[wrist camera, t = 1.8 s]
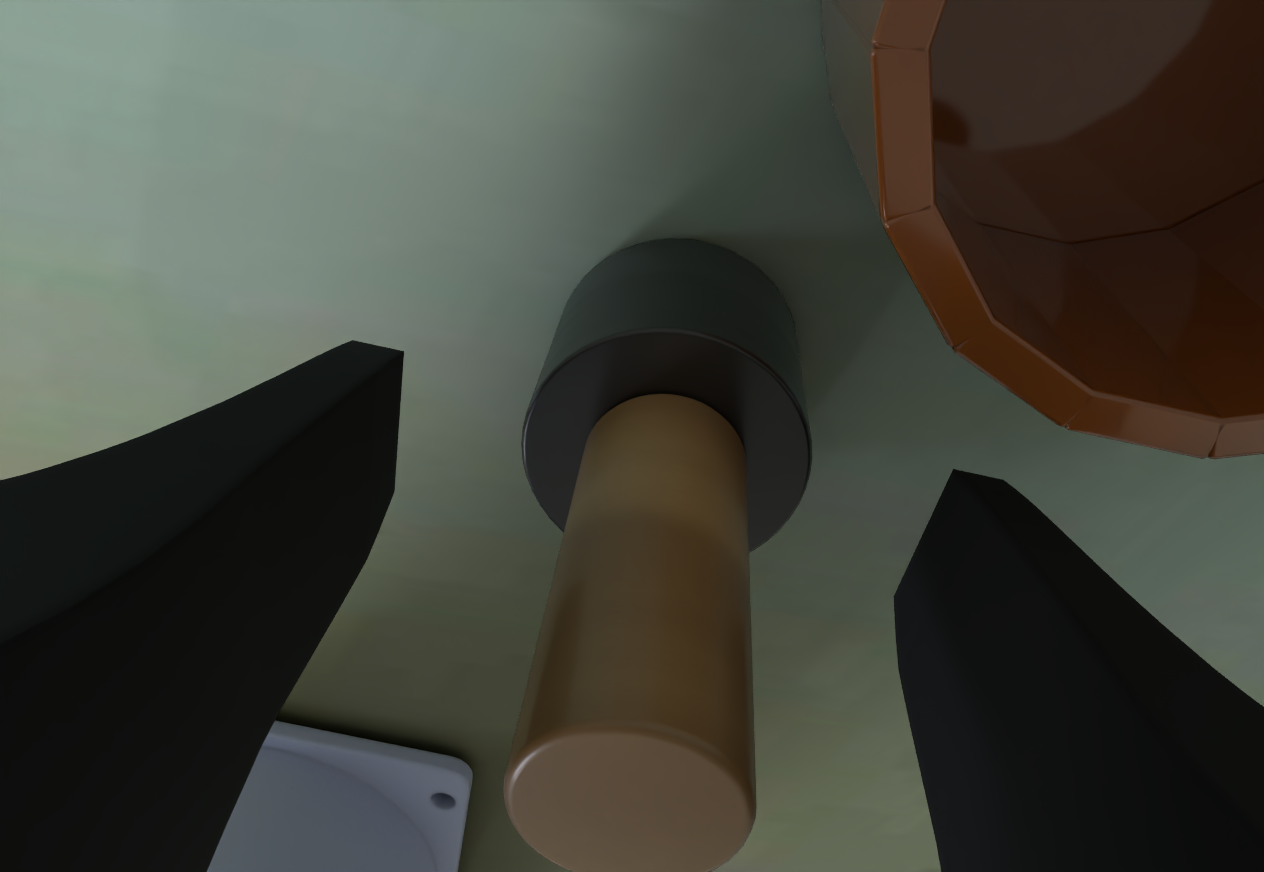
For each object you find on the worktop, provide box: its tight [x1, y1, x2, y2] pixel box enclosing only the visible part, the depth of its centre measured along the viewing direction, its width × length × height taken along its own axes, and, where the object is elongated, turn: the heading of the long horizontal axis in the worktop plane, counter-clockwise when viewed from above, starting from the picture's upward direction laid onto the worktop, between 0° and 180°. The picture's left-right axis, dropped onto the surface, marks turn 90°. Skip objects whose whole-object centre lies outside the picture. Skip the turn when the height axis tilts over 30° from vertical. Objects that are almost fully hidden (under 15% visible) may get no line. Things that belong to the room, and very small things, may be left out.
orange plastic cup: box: [821, 0, 1264, 459], centre depth 9 cm, size 7×7×5 cm
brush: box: [503, 239, 812, 872], centre depth 11 cm, size 4×4×8 cm
